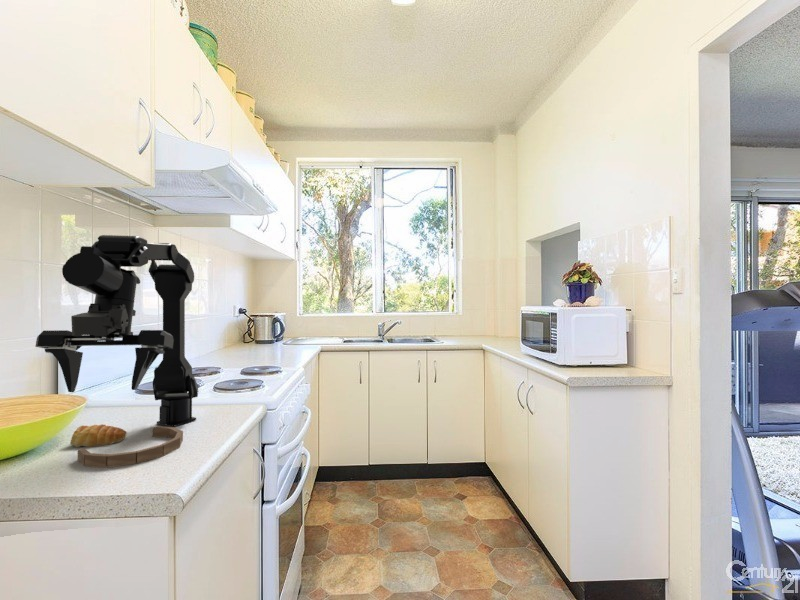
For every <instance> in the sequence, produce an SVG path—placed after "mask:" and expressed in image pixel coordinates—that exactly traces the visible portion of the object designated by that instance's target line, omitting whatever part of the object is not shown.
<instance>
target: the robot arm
mask: <svg viewBox="0 0 800 600" xmlns="http://www.w3.org/2000/svg"><path fill="white" fill-rule="evenodd" d="M149 261H151V263H150V266H149V267H148V274H150V277H151V279H152V280H153V282H154V289H155V291H156V293H157V294H158V295H159V297H160V298H161V300H162V329H151V330H150V329H146V330H145V329H143V330H140V331H139V333H138V334H134V332H133V331H132V325H133V317H136V314H137V313H136V312H137V311H136V310H135V309H134V306H135V299H136V298H135V297H136V289H137V285H139V284H141V280H140V277H139V276H137V274H136V271H135V270H132V269H130V270H129V269H128V270H127V269H125V267H128V268H129V267H131V268H141V267H143V266H146V265H147V264H149ZM157 261H171V262H172V264H159V265H158V264H157ZM190 261H191V260H189V259H188V258H186V257H185V256H184V255H183V254H182V253H181V252H179V251H178V248H177V245H175V244H173V243H171V242H169V243H167V242H148V240H147V239H145V238H144V237H142V236H139V235H119V234H117V235H116V234H115V235H112V234H102V235H99V236H98V237H97V240H96V241H95V242H94V243H93V244H92V245H90V246H89V245H87V246H86V245H85V246H84V245H83V246H80V250H79V252H78V253H76V254H73V255H72V256H71V257H69V258H68V259H67V260H66V262H65V263H64V264H63V265H62V268H61V270H62V271H61V272H62V276H63V279H64V280H65V281H66V282H67V283H68V284H70V285H72V286H74V287H76V288H79V289H81V290H84V291H85V292H89V293H91V294H93V295H94V296H95V298H94V301H93V302H94V303H90V304H89V306H88V310H87V312H82V313H78V314H74V315H71V319H70V321H71V331H70V330H64V329H62V330H57V329H56V330H54V329H53V330H43V331H41V333H39V335H37V337H36V341H35V348H40V349H44V352H45V353H46V354H52V355H53V357H55V358H56V360H57V362H58V365H59V366H60V368H61V372H62V374H63V379H64V381H65V385H66V388H67V392H68V393H74V392H75V391H76V389H77V386H78V380H79V376H80V370H81V366H82V361H83V355H84V352H82V351H78V350H79V349H80V348H81V347H95V346H96V347H98V346H99V347H102V346H105V347H106V346H110V347H111V346H140V347H134V350H135V363H134V368H133V374H132V379H131V390H132V391H136V390H137V389H138V388H139V385H140V384H141V382H142V380H143V379H144V378H145V376H146V374H147V372H148V370H149V368H150V367H151V366H152V364H153V363H154V362H155V360H156V359H157V357H159V355H162V360H161V362H160V363H159V365H158V366H157V367H155V368H154V370H153V376H154V377H153V380H152V390H153V395H154V400H155V401H160V406H159V420H158V421H156V425H157V424H158V425H162V426H166V427H177V426H180V425H183V424H186V423H190V422H193V421H197V417H196V416H195V417H194V416H193V399H195V398H198V396H199V385H198V383H197V380H196V378H195V376H194V374H193V366H192V364H190V362H189V361H188V360H187V358H186V356H185V354H186V349H185V348H186V347H185V345H186V344H185V343H186V338H185V332H186V329H185V328H186V327H185V324H186V323H185V322H186V321H185V319H186V317H185V314H186V313H185V310H186V309H185V308H186V307H185V306H186V305H185V304H186V303H185V300H186V298H187V297H189V294H191V293H192V289H193V283H194V282H195V272H194V270H193V267H192V264H191V262H190ZM121 267H124V268H121Z"/></svg>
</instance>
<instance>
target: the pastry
mask: <svg viewBox="0 0 800 600" xmlns="http://www.w3.org/2000/svg"><path fill="white" fill-rule="evenodd" d="M127 434H128V431H126V430H124V429H123V428H120V427H117V426H114V425H106V424H103V423H102V424H94V425H89V426H88V425H81V426H78V427H77V428H76V430H75V431H74V432H73V434H72V436H71V439H70V444H71V445H72V446H73V447H76V448H80V447H82V446H83V447H84V448H85V447H86V448H89V447H90V448H91V447H94V446H95V447H98V446H106V445H112V444H114V443H119V442H122V441H123V440H125V438H126V436H127Z"/></svg>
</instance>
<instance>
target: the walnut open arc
mask: <svg viewBox="0 0 800 600" xmlns="http://www.w3.org/2000/svg"><path fill="white" fill-rule="evenodd" d="M151 433H152V437H155V438H170V439H169V440H167V441H164V442H163V443H161V444H159V445H154V446H151V447H146V448H143V449H140V450H139V449H138V450H134V451H127V452H118V453H96V452H95V453H94V452H90V451H89V450H88V449H86V448H85V447H83V448H78V449H77V461H78V462H79V463H80V464H81V465H83V466H84V467H92V468H93V467H94V468H114V467H119V466H127V465H133V464H134V465H136V464H139V463H143V462H148V461H151V460H153V459H157V458H161V457H164V456H166V455H168V454H170V453H172V452H174V451H176V450H177V449H179V448H180V447H181V445H182V443H183V442H184V441H183V440H184V431H183V430H181V429H179V428H177V427H176V426H156V425H155V426H153V427H152V430H151Z"/></svg>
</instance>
